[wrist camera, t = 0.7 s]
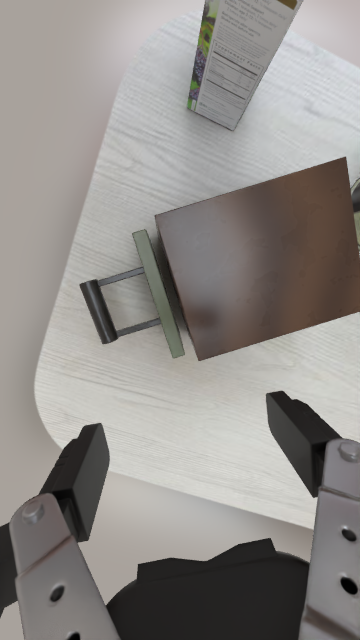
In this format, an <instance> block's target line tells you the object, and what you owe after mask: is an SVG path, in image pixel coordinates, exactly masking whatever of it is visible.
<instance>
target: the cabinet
mask: <svg viewBox="0 0 360 640" xmlns="http://www.w3.org/2000/svg"><path fill="white" fill-rule="evenodd" d="M155 220H156V226H157V232H158V236H159V239H160V242H161V246H162V249H163V252H164V256H165V259H166V262H167V265H168V269H169V272H170V275H171V279H172V282H173V285H174V288H175V292H176V295H177V298H178V302H179V305H180V308H181V311H182V315H183V318H184V321H185V325H186V328H187V331H188V334H189V337H190V339H191V342H192V345H193V347H194V350H195V353H196V355H197V358H198V361H201V360H205V359H208V358H211V357H214V356H218V355H221V354H224V353H227V352H230V351H234V350H237V349H240V348H243V347H247V346H250V345H253V344H256V343H260V342H263V341H266V340H269V339H273V338H276V337H279V336H282V335H285V334H289V333H292V332H295V331H298V330H302V329H305V328H308V327H311V326H315V325H318V324H321V323H324V322H328V321H331V320H334V319H337V318H341V317H344V316H347V315H350V314H353V313H357V312H360V257H359V249H358V242H357V234H356V227H355V220H354V212H353V205H352V197H351V190H350V183H349V175H348V168H347V160H346V157H343V158H340V159H337V160H333V161H330V162H327V163H324V164H320V165H317V166H314V167H311V168H307V169H304V170H301V171H298V172H294V173H291V174H288V175H285V176H281V177H278V178H275V179H272V180H268V181H265V182H262V183H259V184H255V185H252V186H249V187H246V188H242V189H239V190H236V191H233V192H229V193H226V194H223V195H220V196H216V197H213V198H210V199H207V200H204V201H200V202H197V203H194V204H191V205H187V206H184V207H181V208H178V209H174V210H171V211H168V212H165V213H161V214H158V215H155Z"/></svg>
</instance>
